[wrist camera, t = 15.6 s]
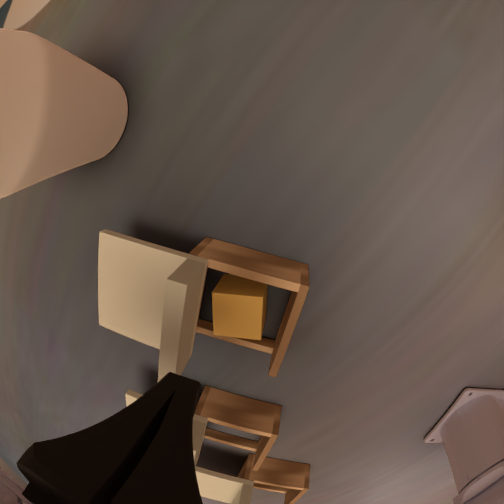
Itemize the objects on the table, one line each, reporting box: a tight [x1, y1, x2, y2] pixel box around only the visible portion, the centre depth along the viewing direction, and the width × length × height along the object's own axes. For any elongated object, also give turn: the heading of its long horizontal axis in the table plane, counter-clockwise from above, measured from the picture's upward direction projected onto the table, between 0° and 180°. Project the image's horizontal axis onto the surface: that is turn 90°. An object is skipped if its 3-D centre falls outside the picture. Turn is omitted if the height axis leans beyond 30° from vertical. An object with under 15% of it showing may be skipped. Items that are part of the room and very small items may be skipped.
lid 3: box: [195, 466, 254, 504], centre depth 23 cm, size 7×7×3 cm
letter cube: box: [212, 274, 268, 340], centre depth 19 cm, size 3×3×3 cm
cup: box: [0, 28, 128, 198], centre depth 12 cm, size 9×9×12 cm
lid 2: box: [126, 389, 208, 466], centre depth 20 cm, size 7×7×3 cm
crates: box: [189, 237, 310, 504], centre depth 22 cm, size 15×29×3 cm, turn 166°
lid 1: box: [98, 229, 208, 382], centre depth 16 cm, size 7×7×3 cm
